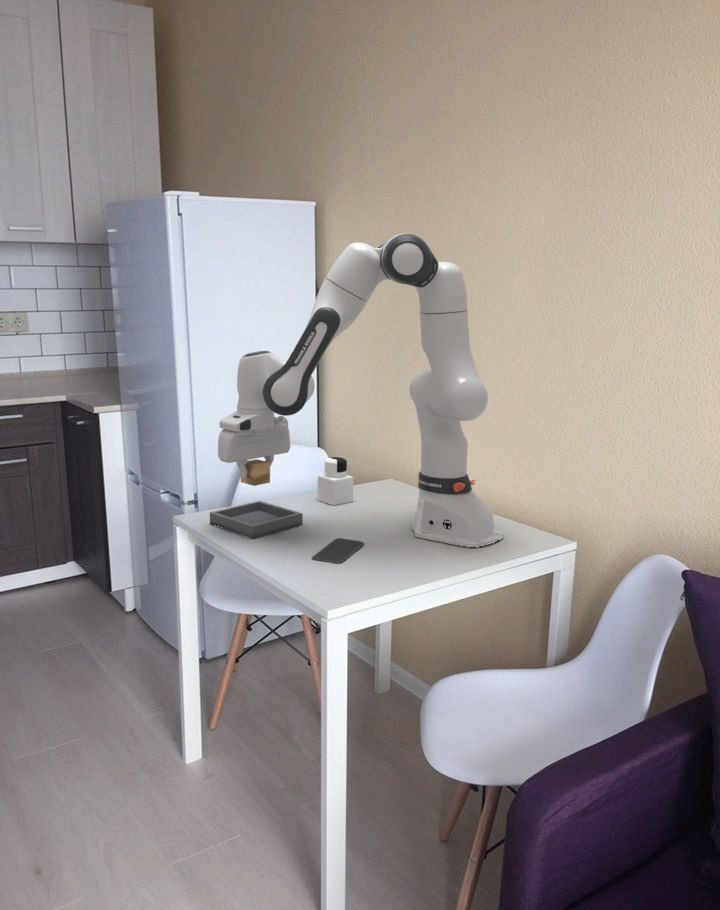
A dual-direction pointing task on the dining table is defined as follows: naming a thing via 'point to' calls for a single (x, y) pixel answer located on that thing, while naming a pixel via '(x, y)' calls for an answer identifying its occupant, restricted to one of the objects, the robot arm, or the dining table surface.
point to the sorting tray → (256, 519)
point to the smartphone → (338, 551)
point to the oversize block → (257, 472)
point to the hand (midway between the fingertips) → (255, 475)
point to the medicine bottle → (335, 482)
